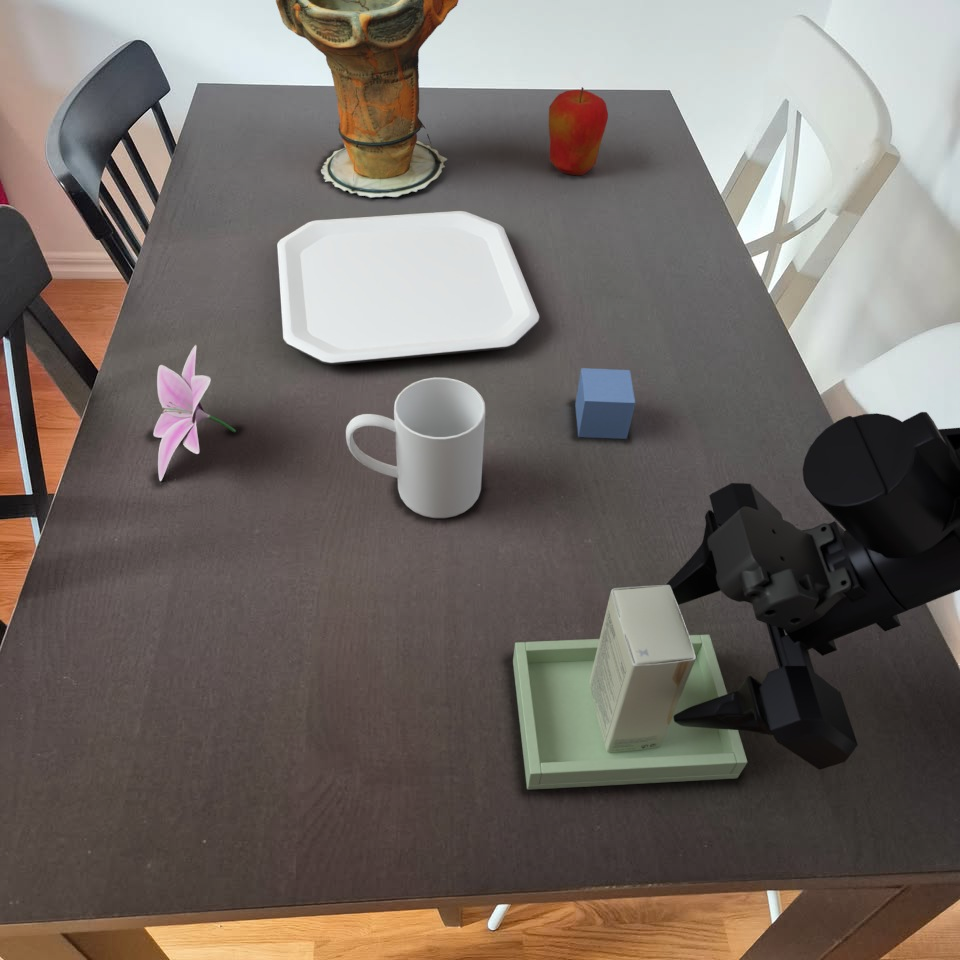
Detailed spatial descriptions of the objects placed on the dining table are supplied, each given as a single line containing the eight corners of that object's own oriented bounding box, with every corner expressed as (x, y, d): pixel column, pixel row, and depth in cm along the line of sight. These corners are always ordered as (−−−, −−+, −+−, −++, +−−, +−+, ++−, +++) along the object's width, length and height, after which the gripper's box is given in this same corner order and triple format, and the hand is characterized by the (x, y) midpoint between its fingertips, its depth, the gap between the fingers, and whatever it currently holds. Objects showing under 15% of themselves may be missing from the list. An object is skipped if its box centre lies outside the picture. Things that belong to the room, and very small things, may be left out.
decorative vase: (300, 136, 127) (273, -78, 107) (450, 135, 130) (452, -75, 109) (293, 206, 113) (261, -25, 93) (461, 203, 116) (466, -23, 95)
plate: (287, 381, 89) (284, 365, 87) (277, 236, 108) (275, 221, 106) (548, 356, 94) (550, 340, 92) (495, 221, 113) (496, 206, 111)
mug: (474, 455, 83) (478, 373, 75) (486, 515, 77) (492, 434, 70) (350, 465, 81) (341, 383, 73) (355, 528, 76) (345, 446, 68)
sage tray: (701, 652, 68) (709, 634, 66) (737, 778, 61) (748, 762, 59) (512, 660, 67) (515, 641, 65) (527, 790, 60) (530, 774, 58)
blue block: (622, 406, 88) (630, 369, 85) (626, 439, 85) (635, 402, 81) (575, 404, 88) (581, 367, 85) (578, 437, 85) (584, 400, 81)
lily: (181, 398, 88) (115, 352, 80) (276, 373, 84) (217, 322, 76) (168, 502, 83) (95, 464, 75) (268, 480, 79) (204, 438, 71)
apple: (535, 157, 126) (543, 76, 117) (587, 152, 127) (599, 72, 119) (554, 185, 120) (563, 102, 112) (608, 179, 122) (621, 98, 113)
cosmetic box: (662, 748, 62) (700, 663, 53) (605, 755, 61) (634, 670, 52) (639, 671, 66) (672, 581, 57) (586, 677, 65) (610, 586, 56)
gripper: (779, 390, 52) (581, 503, 60) (878, 651, 39) (611, 751, 47) (857, 477, 58) (668, 570, 66) (965, 728, 45) (716, 806, 53)
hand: (665, 659), depth 58 cm, fingers open, 9 cm apart
